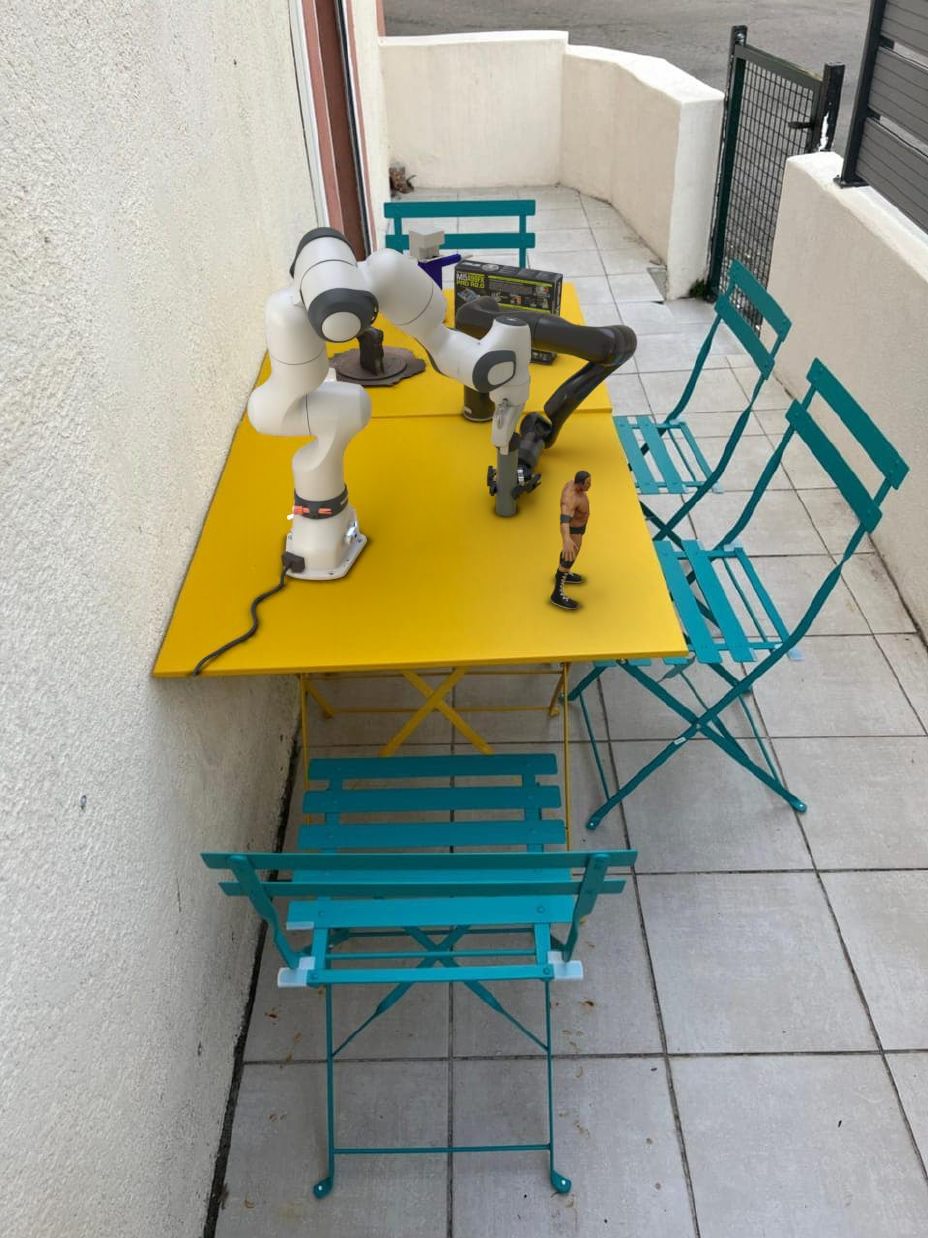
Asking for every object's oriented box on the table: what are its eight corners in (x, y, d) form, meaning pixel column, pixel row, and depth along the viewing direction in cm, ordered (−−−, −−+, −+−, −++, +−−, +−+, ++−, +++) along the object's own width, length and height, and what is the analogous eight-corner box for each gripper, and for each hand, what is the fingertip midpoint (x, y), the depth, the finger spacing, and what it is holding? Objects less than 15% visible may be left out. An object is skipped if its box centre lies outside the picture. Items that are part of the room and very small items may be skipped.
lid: (493, 439, 207) (493, 430, 205) (518, 438, 207) (519, 429, 205) (495, 452, 202) (496, 443, 201) (521, 451, 202) (522, 442, 201)
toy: (460, 304, 319) (459, 216, 299) (477, 312, 313) (477, 222, 294) (381, 329, 302) (375, 237, 283) (398, 337, 296) (393, 244, 277)
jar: (516, 505, 218) (519, 433, 205) (515, 516, 214) (517, 444, 201) (496, 504, 218) (497, 433, 205) (495, 515, 215) (496, 443, 202)
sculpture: (406, 397, 263) (403, 345, 252) (297, 384, 270) (290, 333, 259) (437, 352, 287) (436, 303, 277) (336, 341, 294) (331, 293, 284)
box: (558, 356, 284) (564, 271, 267) (551, 365, 279) (556, 279, 262) (462, 341, 294) (461, 258, 277) (453, 349, 289) (452, 265, 271)
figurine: (575, 629, 182) (588, 506, 163) (545, 625, 183) (554, 502, 164) (587, 560, 200) (599, 442, 181) (559, 557, 201) (568, 439, 182)
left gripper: (513, 412, 187) (511, 469, 196) (532, 372, 202) (529, 426, 211) (484, 409, 188) (484, 466, 197) (505, 369, 204) (503, 423, 213)
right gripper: (495, 442, 222) (474, 476, 210) (551, 451, 218) (533, 486, 206) (494, 469, 227) (474, 503, 215) (549, 477, 223) (531, 513, 211)
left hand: (507, 445), depth 204 cm, fingers closed on lid, 6 cm apart
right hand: (503, 494), depth 210 cm, fingers closed on jar, 5 cm apart
